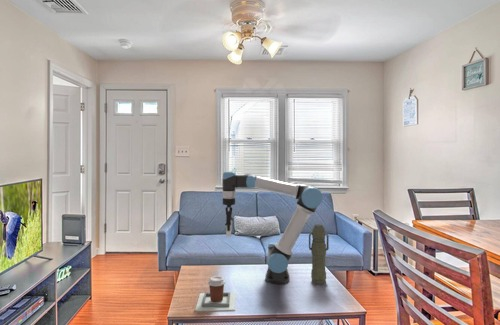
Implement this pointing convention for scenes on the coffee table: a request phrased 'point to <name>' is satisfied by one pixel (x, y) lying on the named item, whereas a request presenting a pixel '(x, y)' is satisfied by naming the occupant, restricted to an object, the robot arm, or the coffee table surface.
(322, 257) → the thermos
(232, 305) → the square seat
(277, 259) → the robot arm
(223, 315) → the coffee table surface
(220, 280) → the coffee cup
